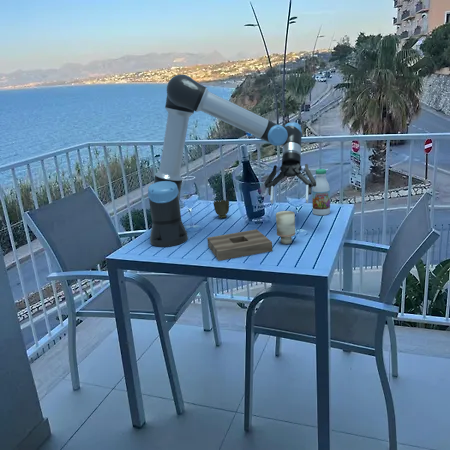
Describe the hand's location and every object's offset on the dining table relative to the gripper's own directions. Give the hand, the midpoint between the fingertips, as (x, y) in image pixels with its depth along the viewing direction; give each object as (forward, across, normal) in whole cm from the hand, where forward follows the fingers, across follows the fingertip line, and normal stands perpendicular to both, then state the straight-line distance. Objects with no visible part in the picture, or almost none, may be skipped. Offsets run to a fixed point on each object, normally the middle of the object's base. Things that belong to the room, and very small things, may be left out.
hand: (289, 201), depth 158 cm
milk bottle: (-10, -11, -30) cm, 33 cm away
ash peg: (+16, +1, -3) cm, 16 cm away
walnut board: (+21, +17, +2) cm, 27 cm away
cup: (-6, +34, -25) cm, 43 cm away
